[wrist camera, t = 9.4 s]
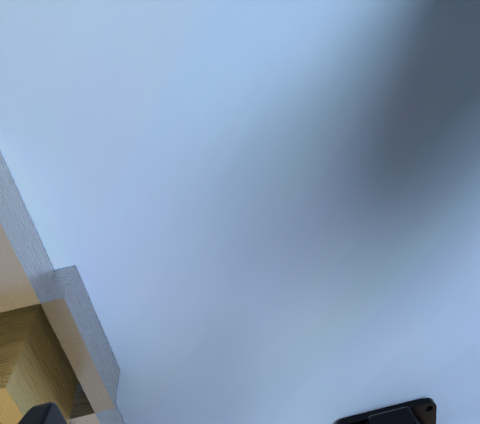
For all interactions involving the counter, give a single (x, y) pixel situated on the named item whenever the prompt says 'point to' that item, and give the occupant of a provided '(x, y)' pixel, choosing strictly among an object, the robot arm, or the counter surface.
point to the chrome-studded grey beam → (56, 307)
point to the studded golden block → (32, 365)
